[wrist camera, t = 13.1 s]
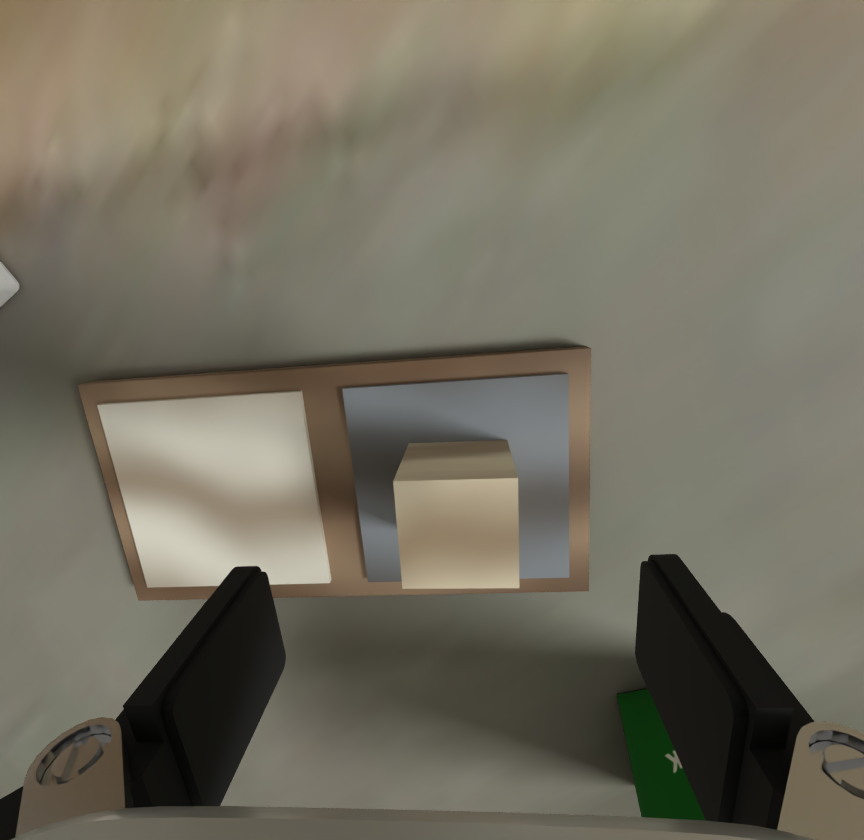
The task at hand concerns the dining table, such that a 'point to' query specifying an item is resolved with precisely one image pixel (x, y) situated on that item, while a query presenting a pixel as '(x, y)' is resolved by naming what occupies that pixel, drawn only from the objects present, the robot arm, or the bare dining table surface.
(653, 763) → the fresh milk carton
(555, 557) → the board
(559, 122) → the dining table surface
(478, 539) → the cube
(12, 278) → the medicine bottle
